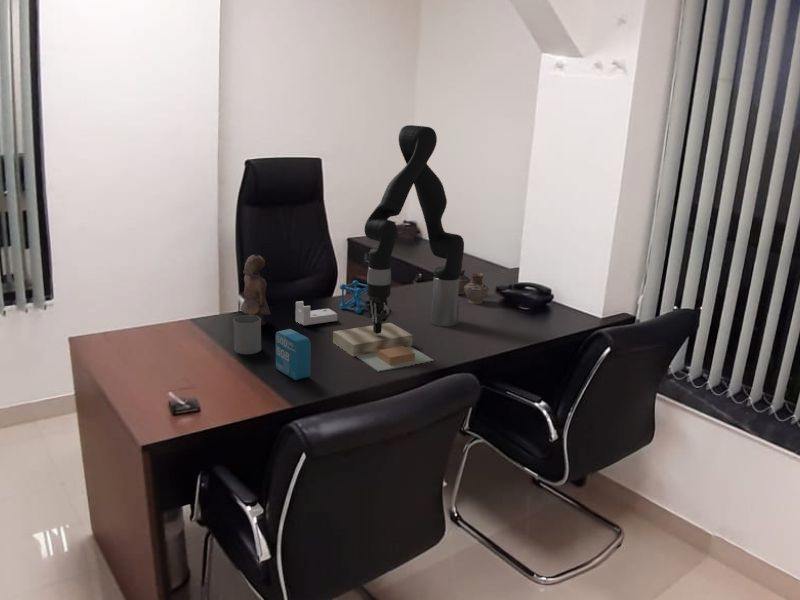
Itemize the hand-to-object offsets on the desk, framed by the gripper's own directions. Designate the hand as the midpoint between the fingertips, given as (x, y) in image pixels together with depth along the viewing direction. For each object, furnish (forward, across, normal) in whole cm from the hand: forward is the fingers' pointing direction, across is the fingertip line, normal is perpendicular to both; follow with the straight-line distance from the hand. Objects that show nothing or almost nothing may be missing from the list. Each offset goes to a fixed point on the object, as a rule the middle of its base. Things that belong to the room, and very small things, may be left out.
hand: (377, 332), depth 223 cm
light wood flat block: (+5, +2, 0) cm, 5 cm away
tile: (+3, -13, +1) cm, 13 cm away
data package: (+5, -8, +33) cm, 35 cm away
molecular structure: (+5, +39, -14) cm, 42 cm away
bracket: (+6, +32, +6) cm, 33 cm away
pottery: (+6, +35, -63) cm, 72 cm away
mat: (+5, -12, 0) cm, 13 cm away
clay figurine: (+5, +38, +27) cm, 47 cm away
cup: (+5, +16, +38) cm, 41 cm away
